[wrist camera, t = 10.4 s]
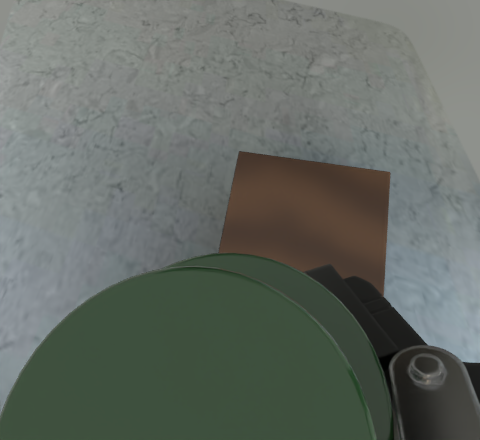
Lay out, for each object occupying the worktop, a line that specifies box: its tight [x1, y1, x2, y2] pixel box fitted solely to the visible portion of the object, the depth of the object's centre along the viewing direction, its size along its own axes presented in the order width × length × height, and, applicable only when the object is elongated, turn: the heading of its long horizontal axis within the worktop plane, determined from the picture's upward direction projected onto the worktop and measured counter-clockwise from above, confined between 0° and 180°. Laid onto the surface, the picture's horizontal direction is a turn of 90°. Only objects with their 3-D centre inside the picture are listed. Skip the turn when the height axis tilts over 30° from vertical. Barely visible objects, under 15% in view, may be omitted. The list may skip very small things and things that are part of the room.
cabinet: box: [218, 151, 390, 297], centre depth 33 cm, size 15×12×9 cm
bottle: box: [0, 253, 394, 440], centre depth 11 cm, size 5×5×17 cm
